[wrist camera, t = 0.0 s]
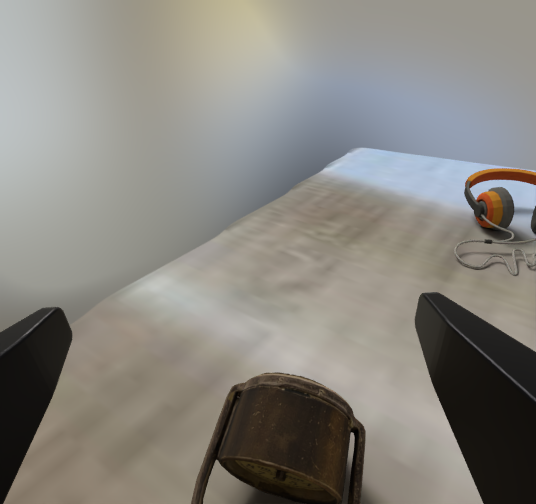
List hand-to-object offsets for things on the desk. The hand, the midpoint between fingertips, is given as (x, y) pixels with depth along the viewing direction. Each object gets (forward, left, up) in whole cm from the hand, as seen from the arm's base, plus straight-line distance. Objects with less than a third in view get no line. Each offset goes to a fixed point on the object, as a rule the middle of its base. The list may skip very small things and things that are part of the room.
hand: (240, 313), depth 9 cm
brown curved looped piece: (+2, 0, -17) cm, 17 cm away
